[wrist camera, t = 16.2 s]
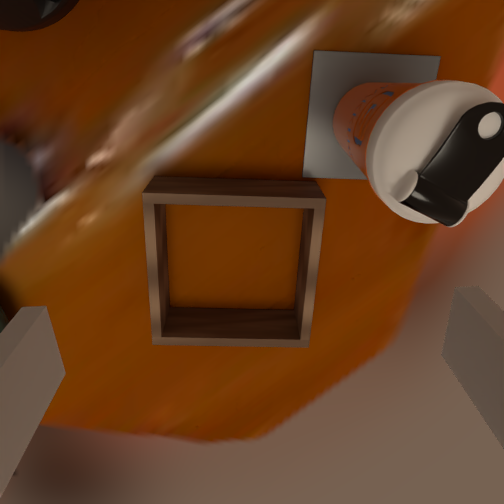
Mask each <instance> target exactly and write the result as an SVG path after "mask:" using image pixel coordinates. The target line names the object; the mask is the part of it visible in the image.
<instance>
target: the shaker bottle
mask: <svg viewBox="0 0 504 504" xmlns="http://www.w3.org/2000/svg"><path fill="white" fill-rule="evenodd" d="M333 130H334V134H335V137H336V139H337V141H338V143H339V144H340V146H341V147H342V148H343V149H344V150H345V152H346V153H347V154H348V155H349V157H350V158H351V159H352V160H353V162H354V163H355V164H356V165H357V166H358V168H359V169H360V170H361V171H362V173H363V174H364V175H365V176H366V178H367V179H368V181H369V183H370V186H371V188H372V189H373V191H374V192H375V194H376V196H377V197H378V198H379V199H380V200H381V201H382V202H383V203H384V204H386V205H387V206H388V207H389V208H390V209H391V210H392V211H393V212H395V213H397V214H398V215H400V216H401V217H403V218H406V219H408V220H411V221H414V222H420V223H441V224H443V225H445V226H447V227H454V226H456V225H458V224H459V223H460V222H461V221H462V220H463V219H464V218H465V217H466V215H467V213H469V212H471V211H472V210H474V209H475V208H477V207H478V206H480V205H481V204H482V203H483V202H484V201H485V200H487V199H488V198H489V197H490V196H491V195H492V193H493V192H494V191H495V190H496V189H497V188H498V186H499V185H500V183H501V182H502V180H503V178H504V104H503V103H502V101H501V100H500V99H499V98H498V97H497V96H496V95H494V94H493V93H492V92H491V91H489V90H488V89H486V88H483V87H481V86H479V85H477V84H472V83H467V82H461V81H455V80H450V79H447V80H433V81H429V82H425V83H380V82H372V83H364V84H360V85H358V86H356V87H354V88H352V89H351V90H350V91H348V92H347V93H346V94H345V95H344V96H343V97H342V99H341V100H340V102H339V103H338V105H337V107H336V110H335V113H334V117H333Z"/></svg>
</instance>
